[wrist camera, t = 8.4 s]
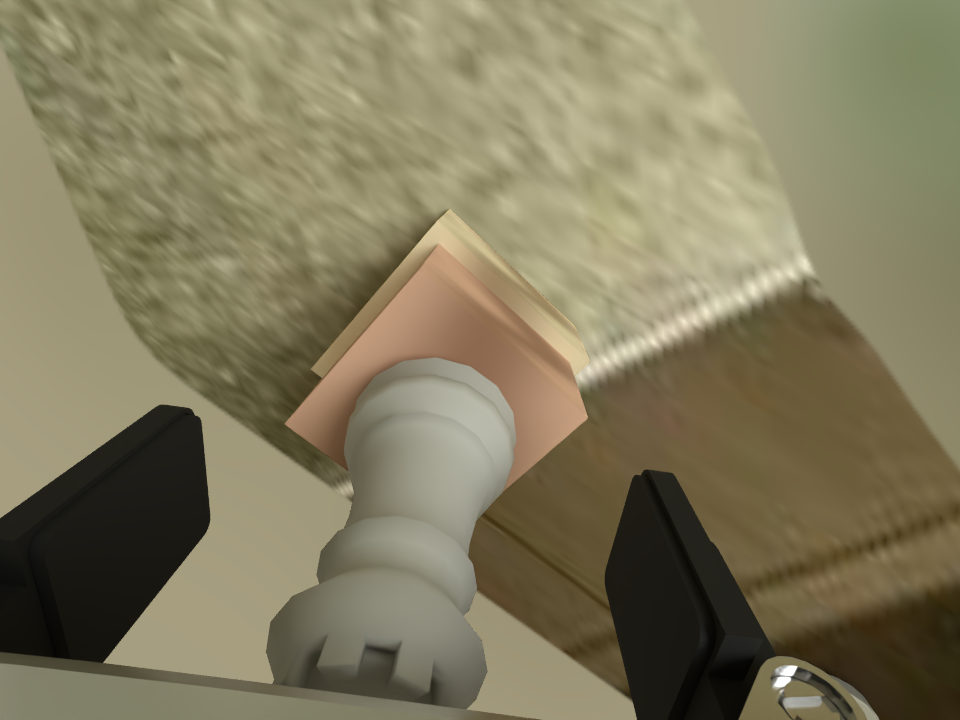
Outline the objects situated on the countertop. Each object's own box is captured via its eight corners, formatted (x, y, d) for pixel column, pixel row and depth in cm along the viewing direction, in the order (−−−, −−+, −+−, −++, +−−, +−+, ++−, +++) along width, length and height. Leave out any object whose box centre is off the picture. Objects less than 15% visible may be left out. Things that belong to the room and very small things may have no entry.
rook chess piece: (358, 485, 15) (211, 815, 7) (354, 343, 13) (158, 586, 6) (508, 497, 15) (514, 843, 7) (524, 357, 13) (551, 620, 6)
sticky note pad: (574, 326, 21) (614, 417, 14) (464, 430, 23) (446, 559, 16) (449, 209, 19) (416, 239, 12) (343, 333, 22) (259, 424, 14)
